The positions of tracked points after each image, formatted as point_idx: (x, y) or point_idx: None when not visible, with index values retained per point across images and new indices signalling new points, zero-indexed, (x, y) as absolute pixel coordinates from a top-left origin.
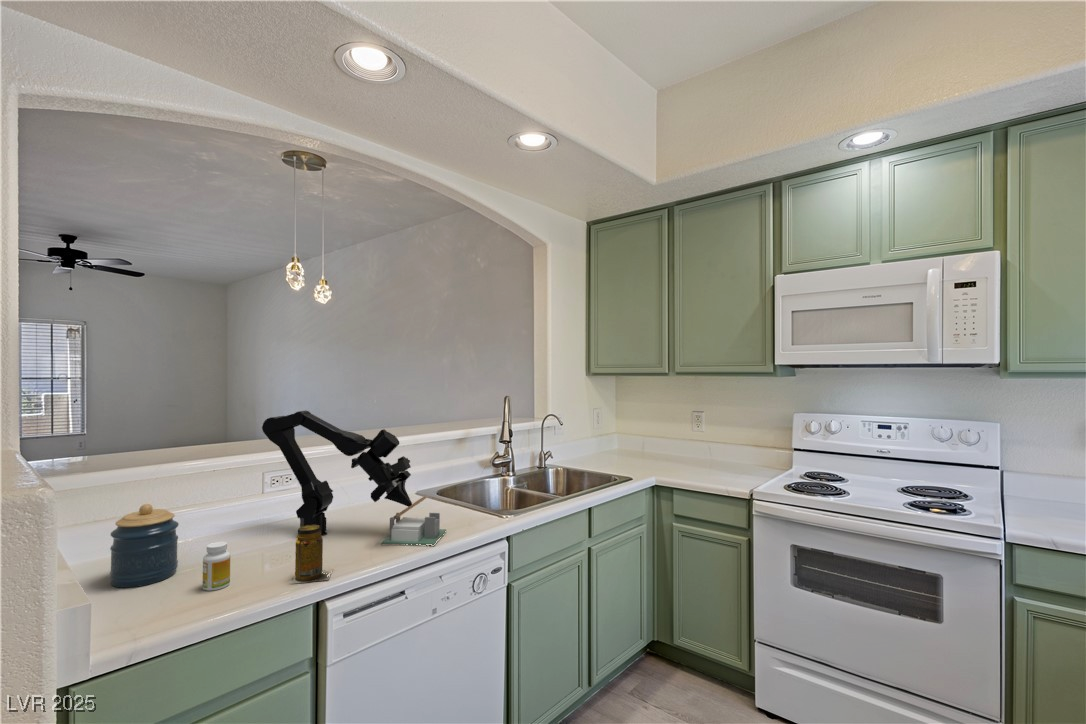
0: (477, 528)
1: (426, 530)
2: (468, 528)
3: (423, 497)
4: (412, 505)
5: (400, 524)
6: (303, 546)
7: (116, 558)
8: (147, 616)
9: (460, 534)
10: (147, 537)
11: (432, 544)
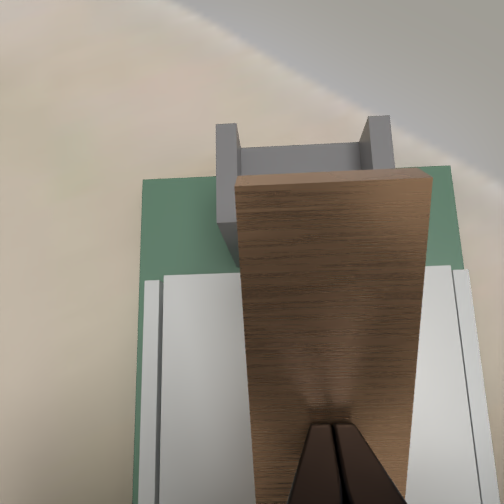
0: (63, 22)
1: None
2: (65, 73)
3: (376, 177)
4: (410, 377)
5: (416, 486)
6: None
7: None
8: None
9: (188, 86)
10: None
11: (450, 176)
